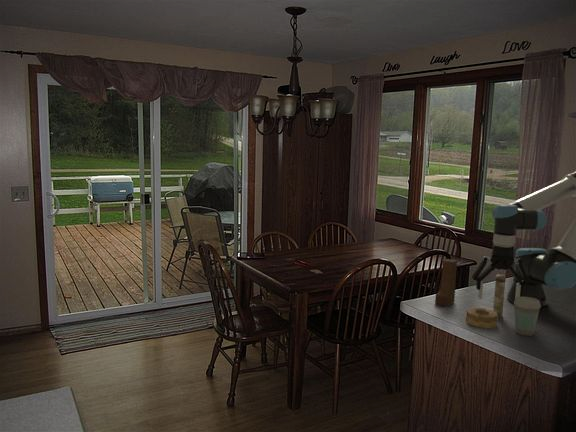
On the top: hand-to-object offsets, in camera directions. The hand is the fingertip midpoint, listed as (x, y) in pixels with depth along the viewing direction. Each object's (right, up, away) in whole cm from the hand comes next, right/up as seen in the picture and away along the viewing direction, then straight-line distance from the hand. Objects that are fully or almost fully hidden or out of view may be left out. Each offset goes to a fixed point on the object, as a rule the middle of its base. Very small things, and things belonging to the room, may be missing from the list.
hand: (498, 299), depth 185 cm
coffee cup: (+2, -9, -15) cm, 18 cm away
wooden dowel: (0, -7, +1) cm, 7 cm away
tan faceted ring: (-9, -8, -7) cm, 14 cm away
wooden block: (-16, -5, +15) cm, 22 cm away
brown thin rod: (-8, -6, +4) cm, 10 cm away
